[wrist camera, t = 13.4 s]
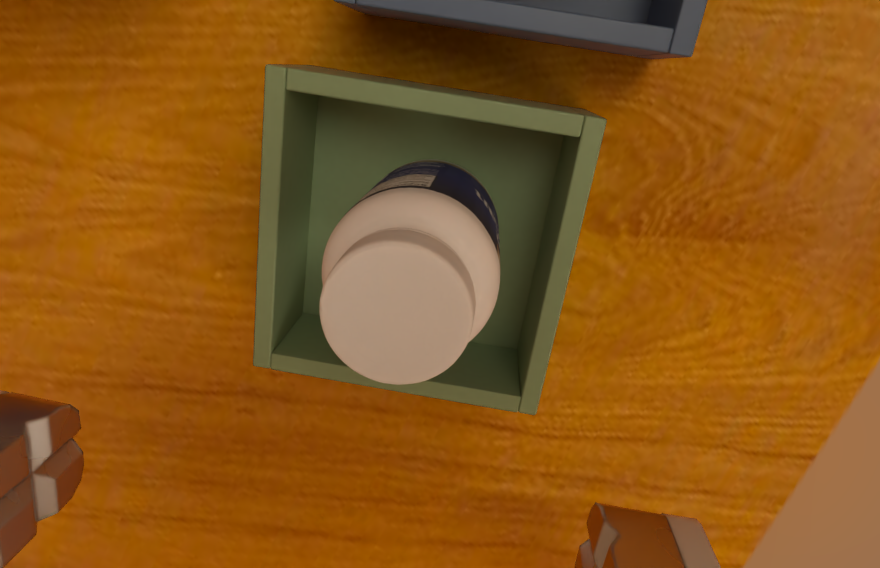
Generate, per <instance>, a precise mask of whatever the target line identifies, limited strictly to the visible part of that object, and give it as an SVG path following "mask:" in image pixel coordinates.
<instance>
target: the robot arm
mask: <svg viewBox="0 0 880 568" xmlns="http://www.w3.org/2000/svg"><path fill="white" fill-rule="evenodd" d="M80 429H81V424H80V416H79V410H77V409H76V408H75V407H73V406H72V405H70V404H65V403H61V402H56V401H51V400H46V399H41V398H37V397H32V396H27V395H22V394H18V393H13V392H12V393H9V392H6V391H1V390H0V568H3V567H4V566H5V565H6V564H7V563H8V562H9V561H10V560H11V559H12V558H13V557H14V556H15V555H16V554H17V553H18V552H19V551H20V550H21V549H22V548H23V547H24V546H25V545H26V544H27V543H28V542H29V541H30V540H31V539H32V538H33V537H34V536H35V535H36V533H37V522H38V521H40V520H42V519H44V518H47V517H49V516H51V515H54V514H56V513H58V512H59V511H60V510H61V509H62V508H63V507H64V506H65V505H66V504H67V503H68V502H69V501H70V500H71V498H72V497H73V495H74V493H75V491H76V489H77V487H78V485H79V483H80V481H81V478H82V473H83V468H84V458H83V451H82V450H81V449H80V447H79V446H78V445H77V443H76V442H75V441H74V439H73V437H74V436H75V435H76V434H77V433H78V432H79V430H80ZM587 528H588V534H589V540H587V541H586V542H584V543H583V544H582V545H580V547H579V550H578V554H577V558H576V562H575V568H721V567H720V565H719V563H718V560H717V558H716V556H715V554H714V552H713V549H712V547H711V545H710V543H709V540H708V538H707V536H706V534H705V532H704V529H703V527H702V525H701V523H700V522H698V521H697V520H696V519H694V518H688V517H682V516H675V515H669V514H663V513H662V514H657V513H651V512H646V511H640V510H635V509H629V508H623V507H618V506H612V505H607V504H601V503H596V502H595V504H594V505H593V507H592V509H591V511H590V514H589V517H588V520H587Z"/></svg>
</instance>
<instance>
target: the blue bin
mask: <svg viewBox="0 0 880 568" xmlns="http://www.w3.org/2000/svg"><path fill="white" fill-rule="evenodd" d="M334 1H335V2H338V3H340V4H343V5H345V6H347V7H350V8H352V9H354V10H357V11H359V12H361V13H364V14H367V15H374V16H380V17H386V18H393V19H399V20H406V21H412V22H418V23H425V24H431V25H437V26H444V27H450V28H456V29H463V30H469V31H475V32H482V33H488V34H495V35H501V36H507V37H514V38H520V39H526V40H533V41H539V42H545V43H552V44H558V45H564V46H571V47H577V48H584V49H590V50H596V51H603V52H609V53H615V54H622V55H628V56H634V57H641V58H647V59H664V58H680V57H691V56H692V54H693V50H694V47H695V43H696V40H697V36H698V33H699V29H700V25H701V22H702V18H703V15H704V11H705V8H706V4H707V0H334Z"/></svg>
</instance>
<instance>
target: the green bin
mask: <svg viewBox="0 0 880 568" xmlns="http://www.w3.org/2000/svg"><path fill="white" fill-rule="evenodd" d="M606 122H607V121H606V119H605V118H603V117H601V116H598V115H596V114H594V113H592V112H589V111H587V110H585V109H580V108H574V107H568V106H561V105H555V104H549V103H543V102H536V101H530V100H524V99H518V98H511V97H505V96H499V95H493V94H487V93H480V92H474V91H468V90H462V89H455V88H449V87H443V86H437V85H430V84H424V83H418V82H412V81H405V80H399V79H393V78H387V77H380V76H374V75H368V74H362V73H355V72H349V71H343V70H337V69H331V68H324V67H318V66H312V65H281V64H267V65H266V66H265V88H264V113H263V137H262V161H261V185H260V210H259V234H258V258H257V283H256V307H255V331H254V355H253V365H254V366H258V367H264V368H271V369H273V370H279V371H284V372H290V373H296V374H301V375H307V376H313V377H319V378H324V379H330V380H336V381H341V382H347V383H353V384H358V385H364V386H370V387H375V388H381V389H387V390H392V391H398V392H404V393H410V394H415V395H421V396H427V397H432V398H438V399H444V400H449V401H455V402H461V403H466V404H472V405H478V406H484V407H489V408H495V409H501V410H506V411H512V412H520V413H525V414H531V415H535V414H536V413H537V409H538V404H539V400H540V396H541V392H542V388H543V384H544V379H545V375H546V371H547V367H548V363H549V359H550V355H551V350H552V346H553V342H554V338H555V334H556V330H557V326H558V321H559V317H560V313H561V309H562V305H563V301H564V296H565V292H566V288H567V284H568V280H569V276H570V272H571V267H572V263H573V259H574V255H575V251H576V247H577V242H578V238H579V234H580V230H581V226H582V222H583V218H584V213H585V209H586V205H587V201H588V197H589V193H590V188H591V184H592V180H593V176H594V172H595V168H596V164H597V159H598V155H599V151H600V147H601V143H602V139H603V135H604V130H605V126H606ZM429 159H432V160H442V161H447V162H450V163H453V164H456V165H458V166H460V167H462V168H464V169H466V170H467V171H469V172H470V173H472V174H473V175H474V176H475V177H476V178H477V179H478V180H479V181H480V182H481V183H482V184H483V185H484V187H485V188H486V190H487V191H488V193H489V195H490V197H491V198H492V201H493V203H494V206H495V209H496V212H497V216H498V224H499V240H500V242H499V247H500V269H501V271H500V285H499V292H498V297H497V301H496V304H495V307H494V309H493V311H492V314H491V316H490V317H489V319H488V321H487V323H486V324H485V326H484V327H483V328H482V330H481V331H480V332H479V333H478V334H477V335H476V336H475V337H474V338H473V339H472V340H471V341H470V342H468V343H467V346H466V348H465V349H464V351H463V352H462V354H461V355H460V357H459V358H458V359H457V360H456V362H455V363H454V364H453V365H451V366H450V367H449V368H448V369H447V370H445V371H444V372H442V373H441V374H439V375H437V376H435V377H433V378H431V379H428V380H426V381H423V382H419V383H414V384H403V385H395V384H387V383H381V382H377V381H374V380H372V379H369V378H367V377H365V376H363V375H360V374H359V373H357V372H355V371H354V370H352V369H351V368H350V367H349V366H347V365H346V364H345V363H344V362H342V360H341V359H340V358H339V357H338V356H337V355H336V354H335V353H334V351H333V350H332V348H331V347H330V345H329V343H328V341H327V339H326V338H325V335H324V332H323V329H322V325H321V320H320V313H319V302H320V296H321V292H322V288H323V283H322V261H323V255H324V251H325V247H326V245H327V242H328V239H329V237H330V235H331V233H332V232H333V230H334V228H335V227H336V225H337V224H338V223H339V221H340V220H341V219H342V218H343V216H344V215H345V214H346V213H347V212H348V211H349V210H350V209H351V208H352V207H353V206H354V205H355V204H356V203H357V202H359V201H360V200H361V199H362V198H363V197H364V196H365V195H366V194H367V193H368V192H369V191H370V190H371V189H372V188H373V187H374V186H375V185H376V184H377V183H378V182H379V181H380V180H382V179H383V178H384V177H385V176H386V175H387V174H389V173H390V172H392V171H393V170H395V169H397V168H398V167H400V166H402V165H405V164H407V163H410V162H414V161H418V160H429Z"/></svg>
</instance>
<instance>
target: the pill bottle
mask: <svg viewBox="0 0 880 568" xmlns="http://www.w3.org/2000/svg"><path fill="white" fill-rule="evenodd" d="M499 242H500V240H499V224H498V216H497V212H496V209H495V206H494V203H493V201H492V198H491V197H490V195H489V193H488V191H487V190H486V188H485V187H484V185H483V184H482V183H481V182H480V181H479V180H478V179H477V178H476V177H475V176H474V175H473V174H472V173H470V172H469V171H467V170H466V169H464V168H462V167H460V166H458V165H456V164H453V163H450V162H447V161H442V160H432V159H429V160H418V161H414V162H410V163H407V164H405V165H402V166H400V167H398V168H397V169H395V170H393V171H392V172H390V173H389V174H387V175H386V176H385V177H384V178H383V179H382V180H380V181H379V182H378V183H377V184H376V185H375V186H374V187H373V188H372V189H371V190H370V191H369V192H368V193H367V194H366V195H365V196H364V197H363V198H362V199H361V200H360V201H359V202H357V203H356V204H355V205H354V206H353V207H352V208H351V209H350V210H349V211H348V212H347V213H346V214H345V215H344V216H343V218H342V219H341V220H340V221H339V223H338V224H337V225H336V227H335V228H334V230H333V232H332V233H331V235H330V237H329V239H328V242H327V245H326V247H325V251H324V255H323V261H322V283H323V288H322V292H321V296H320V302H319V313H320V320H321V325H322V329H323V332H324V335H325V338H326V339H327V341H328V343H329V345H330V347H331V348H332V350H333V351H334V353H335V354H336V355H337V356H338V357H339V358H340V359H341V360H342V362H344V363H345V364H346V365H347V366H349V367H350V368H351V369H352V370H354V371H355V372H357V373H359V374H360V375H363V376H365V377H367V378H369V379H372V380H374V381H377V382H381V383H387V384H395V385H403V384H414V383H419V382H423V381H426V380H428V379H431V378H433V377H435V376H437V375H439V374H441V373H442V372H444V371H445V370H447V369H448V368H449V367H450V366H451V365H453V364H454V363H455V362H456V360H457V359H458V358H459V357H460V355H461V354H462V352H463V351H464V349H465V348H466V346H467V343H468V342H470V341H471V340H472V339H473V338H474V337H475V336H476V335H477V334H478V333H479V332H480V331H481V330H482V328H483V327H484V326H485V324H486V323H487V321H488V319H489V317H490V316H491V314H492V311H493V309H494V307H495V304H496V301H497V297H498V292H499V285H500V271H501V269H500V247H499Z"/></svg>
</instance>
